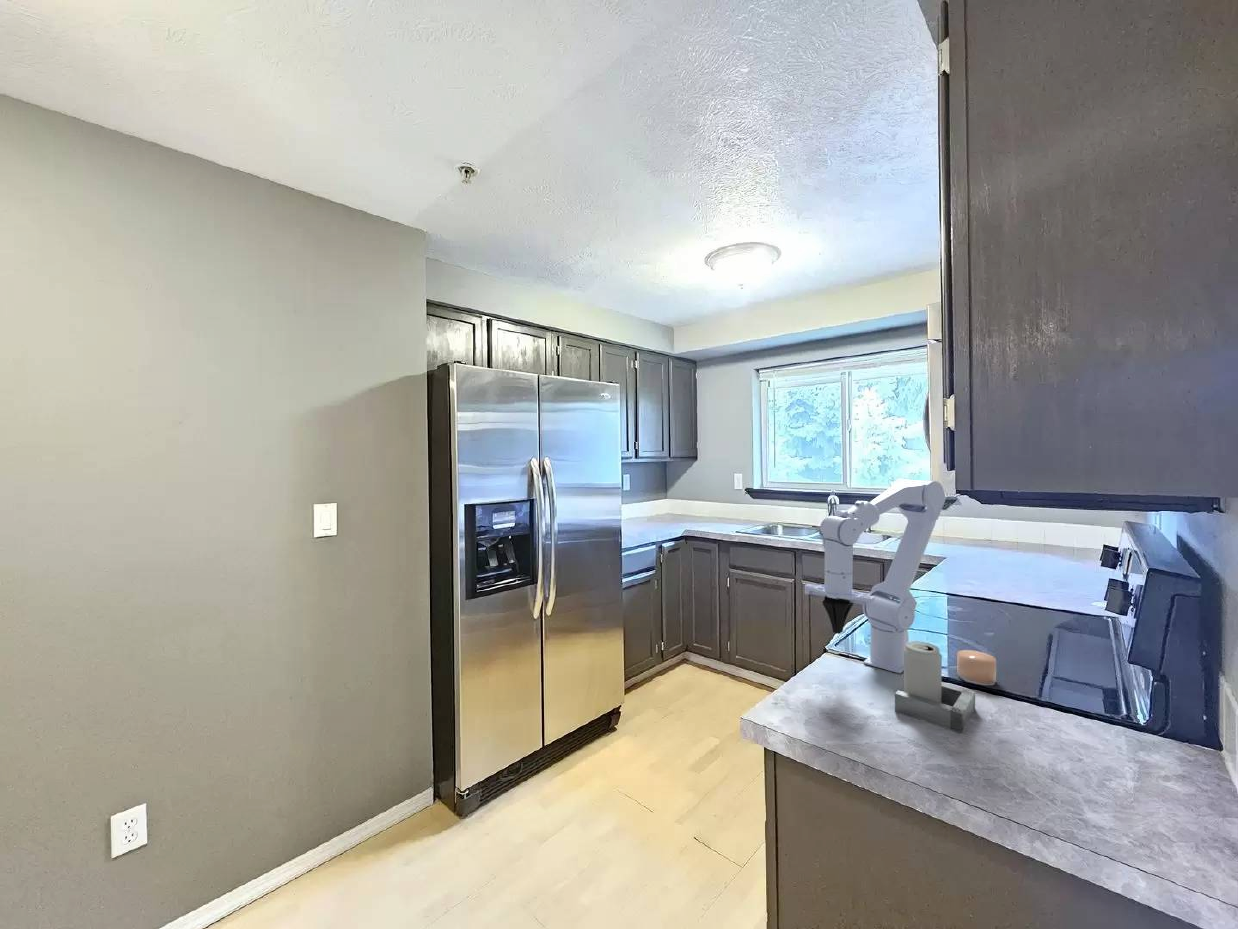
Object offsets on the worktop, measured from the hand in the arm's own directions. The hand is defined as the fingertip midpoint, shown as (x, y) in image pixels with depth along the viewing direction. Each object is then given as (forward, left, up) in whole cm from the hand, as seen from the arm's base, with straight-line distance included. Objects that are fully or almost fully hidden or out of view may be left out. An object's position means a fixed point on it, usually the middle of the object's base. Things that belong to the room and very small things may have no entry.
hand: (837, 632), depth 115 cm
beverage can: (+2, +17, -10) cm, 20 cm away
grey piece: (+2, +20, -10) cm, 22 cm away
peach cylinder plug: (-19, +23, -10) cm, 31 cm away
